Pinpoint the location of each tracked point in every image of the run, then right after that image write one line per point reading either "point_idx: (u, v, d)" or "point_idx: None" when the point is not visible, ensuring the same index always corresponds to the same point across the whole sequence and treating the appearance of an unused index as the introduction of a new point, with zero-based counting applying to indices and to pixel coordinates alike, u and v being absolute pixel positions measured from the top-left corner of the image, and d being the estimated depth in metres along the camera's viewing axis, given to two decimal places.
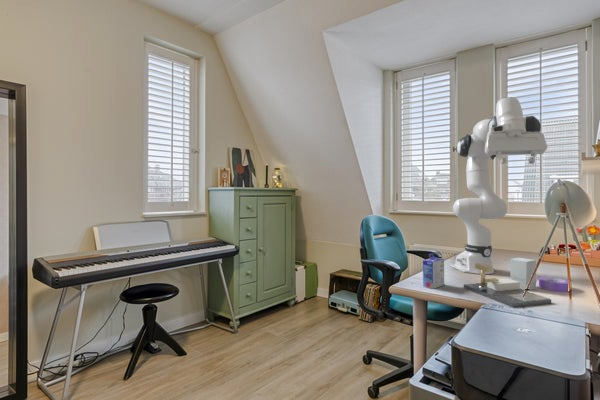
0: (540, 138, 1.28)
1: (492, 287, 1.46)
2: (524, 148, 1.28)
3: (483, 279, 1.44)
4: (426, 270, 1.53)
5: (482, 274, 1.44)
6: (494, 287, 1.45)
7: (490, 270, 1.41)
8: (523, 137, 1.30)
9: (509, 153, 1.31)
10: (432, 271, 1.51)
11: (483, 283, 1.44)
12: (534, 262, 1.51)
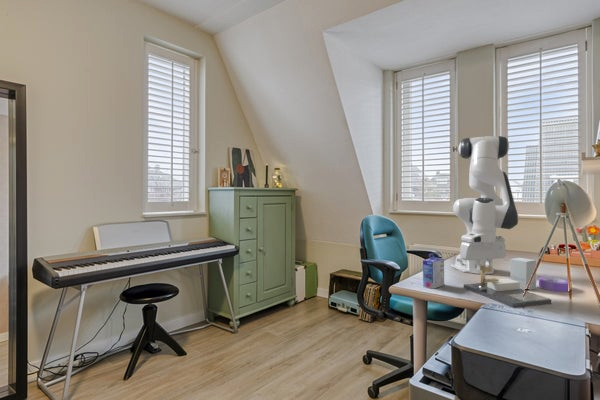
0: (502, 247, 1.44)
1: (492, 287, 1.46)
2: (491, 257, 1.43)
3: (483, 279, 1.44)
4: (426, 270, 1.53)
5: (482, 274, 1.44)
6: (494, 287, 1.45)
7: (490, 270, 1.41)
8: (492, 245, 1.43)
9: None
10: (432, 271, 1.51)
11: (483, 283, 1.44)
12: (534, 262, 1.51)
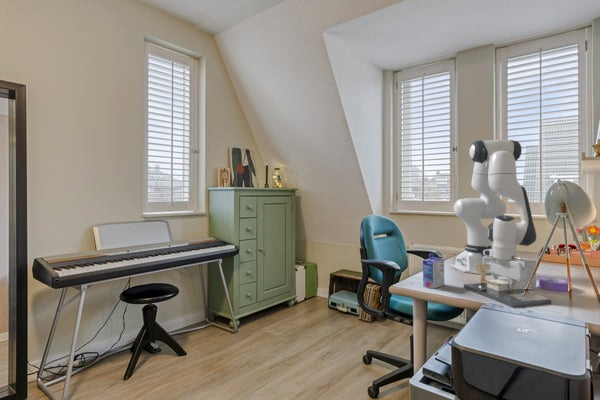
0: (516, 269, 1.39)
1: (492, 287, 1.46)
2: (504, 275, 1.44)
3: (481, 279, 1.44)
4: (426, 270, 1.53)
5: (481, 273, 1.45)
6: (494, 287, 1.45)
7: (478, 269, 1.42)
8: (506, 264, 1.44)
9: None
10: (432, 271, 1.51)
11: (481, 283, 1.44)
12: (534, 262, 1.51)
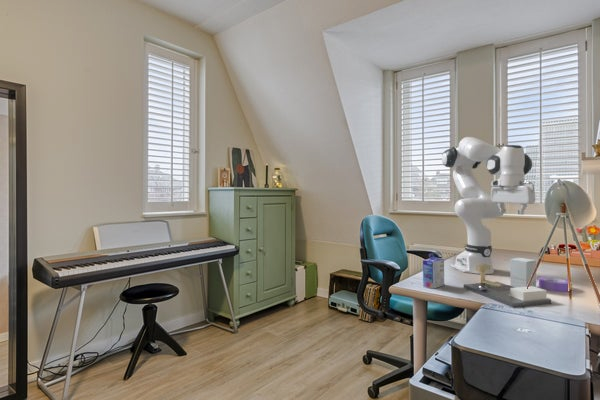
0: (524, 192, 1.42)
1: (516, 296, 1.34)
2: (513, 202, 1.48)
3: (481, 279, 1.44)
4: (426, 270, 1.53)
5: (481, 273, 1.45)
6: (518, 296, 1.33)
7: (478, 269, 1.42)
8: (514, 190, 1.47)
9: None
10: (432, 271, 1.51)
11: (481, 283, 1.44)
12: (534, 262, 1.51)
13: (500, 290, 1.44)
